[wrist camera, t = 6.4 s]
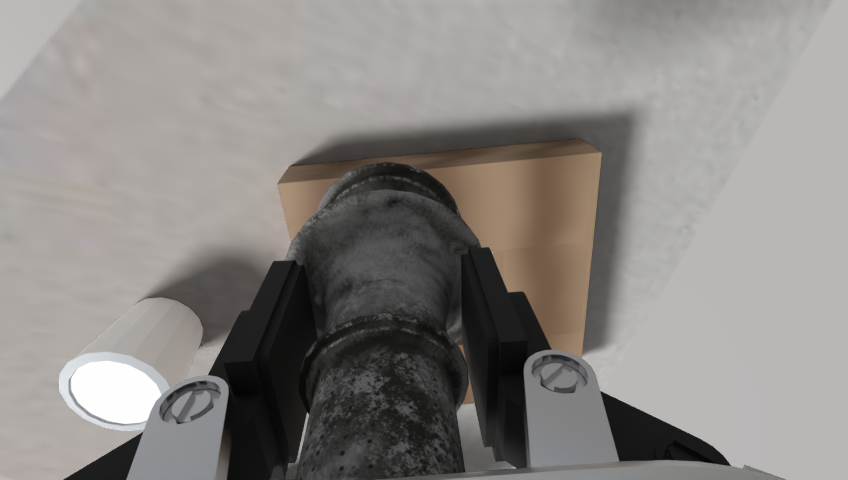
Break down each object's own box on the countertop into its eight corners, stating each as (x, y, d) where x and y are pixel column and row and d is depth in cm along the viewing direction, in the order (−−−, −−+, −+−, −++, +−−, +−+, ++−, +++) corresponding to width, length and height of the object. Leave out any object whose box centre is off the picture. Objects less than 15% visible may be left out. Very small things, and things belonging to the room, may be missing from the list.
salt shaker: (502, 205, 16) (730, 604, 5) (417, 324, 18) (450, 785, 7) (352, 119, 14) (219, 441, 3) (278, 261, 16) (51, 737, 6)
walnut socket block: (580, 138, 30) (601, 152, 27) (563, 361, 39) (578, 391, 36) (289, 166, 30) (277, 183, 27) (338, 385, 39) (333, 418, 35)
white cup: (173, 374, 37) (128, 447, 31) (99, 323, 34) (33, 391, 28) (230, 331, 35) (195, 398, 29) (157, 273, 33) (101, 334, 27)
